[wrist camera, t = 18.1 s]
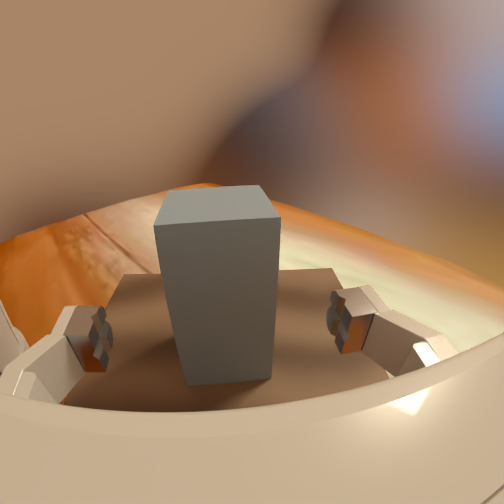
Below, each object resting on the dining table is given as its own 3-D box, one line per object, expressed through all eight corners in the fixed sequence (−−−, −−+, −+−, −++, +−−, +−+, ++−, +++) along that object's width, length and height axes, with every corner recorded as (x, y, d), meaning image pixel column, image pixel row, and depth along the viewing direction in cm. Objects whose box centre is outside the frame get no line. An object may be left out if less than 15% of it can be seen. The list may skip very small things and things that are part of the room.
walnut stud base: (417, 469, 10) (485, 403, 7) (52, 476, 9) (-22, 411, 6) (330, 276, 28) (339, 212, 25) (126, 283, 27) (112, 219, 24)
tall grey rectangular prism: (271, 378, 16) (280, 217, 12) (186, 385, 16) (153, 225, 11) (257, 324, 21) (259, 185, 16) (187, 330, 20) (168, 190, 15)
